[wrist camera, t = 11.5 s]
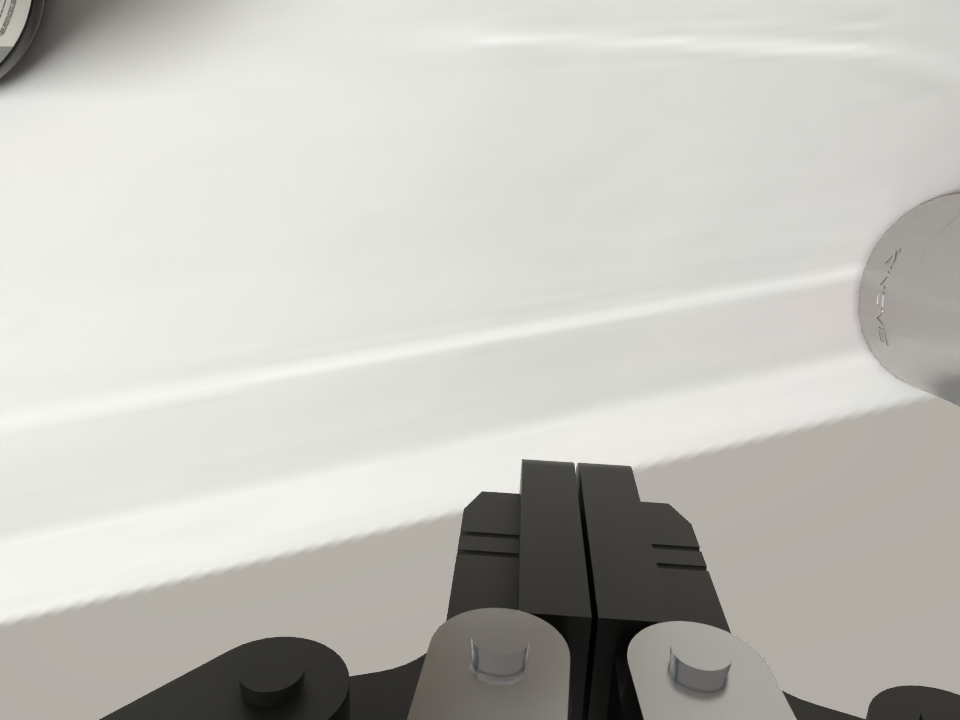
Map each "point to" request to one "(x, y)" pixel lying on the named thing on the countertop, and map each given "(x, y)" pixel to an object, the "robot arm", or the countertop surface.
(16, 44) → the supplement container
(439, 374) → the countertop surface
